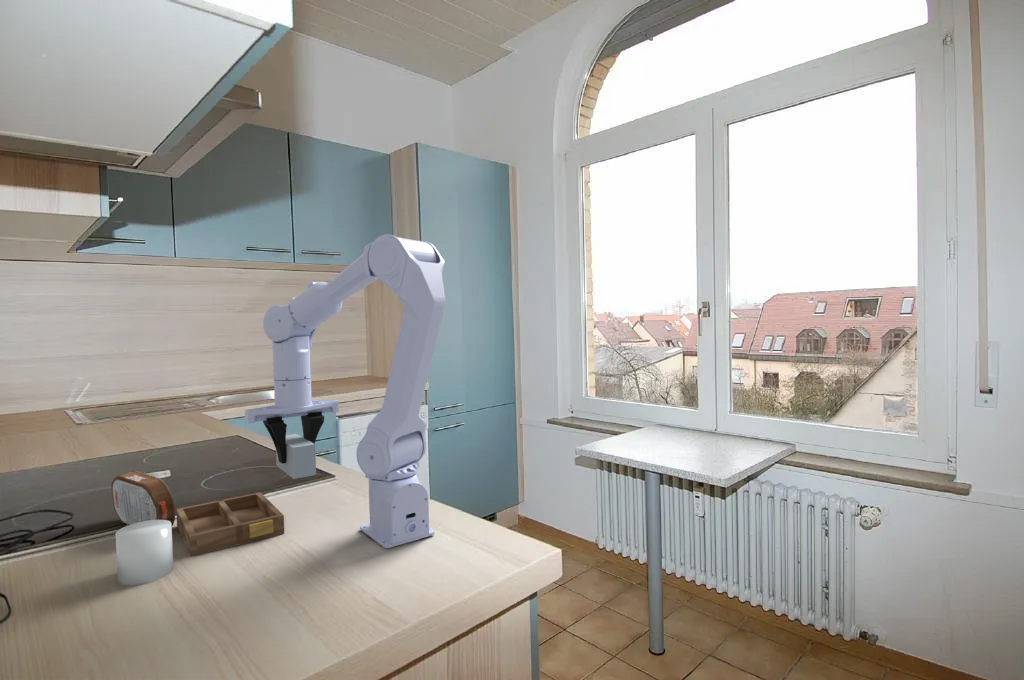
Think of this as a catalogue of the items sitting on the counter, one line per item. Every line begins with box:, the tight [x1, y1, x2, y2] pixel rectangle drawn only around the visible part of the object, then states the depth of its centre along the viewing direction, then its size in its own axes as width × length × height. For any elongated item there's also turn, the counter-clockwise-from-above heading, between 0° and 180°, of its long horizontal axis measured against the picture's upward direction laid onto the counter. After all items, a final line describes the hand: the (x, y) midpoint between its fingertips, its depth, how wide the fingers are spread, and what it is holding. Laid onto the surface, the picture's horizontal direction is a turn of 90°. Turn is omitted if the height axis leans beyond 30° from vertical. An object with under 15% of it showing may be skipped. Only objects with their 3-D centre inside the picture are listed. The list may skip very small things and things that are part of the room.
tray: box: [175, 491, 285, 557], centre depth 86 cm, size 15×12×3 cm
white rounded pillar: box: [115, 520, 175, 586], centre depth 72 cm, size 6×6×6 cm
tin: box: [110, 470, 176, 527], centre depth 87 cm, size 15×3×8 cm, turn 58°
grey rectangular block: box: [275, 433, 317, 480], centre depth 93 cm, size 10×4×5 cm, turn 38°
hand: (295, 459), depth 93 cm, fingers closed on grey rectangular block, 3 cm apart
